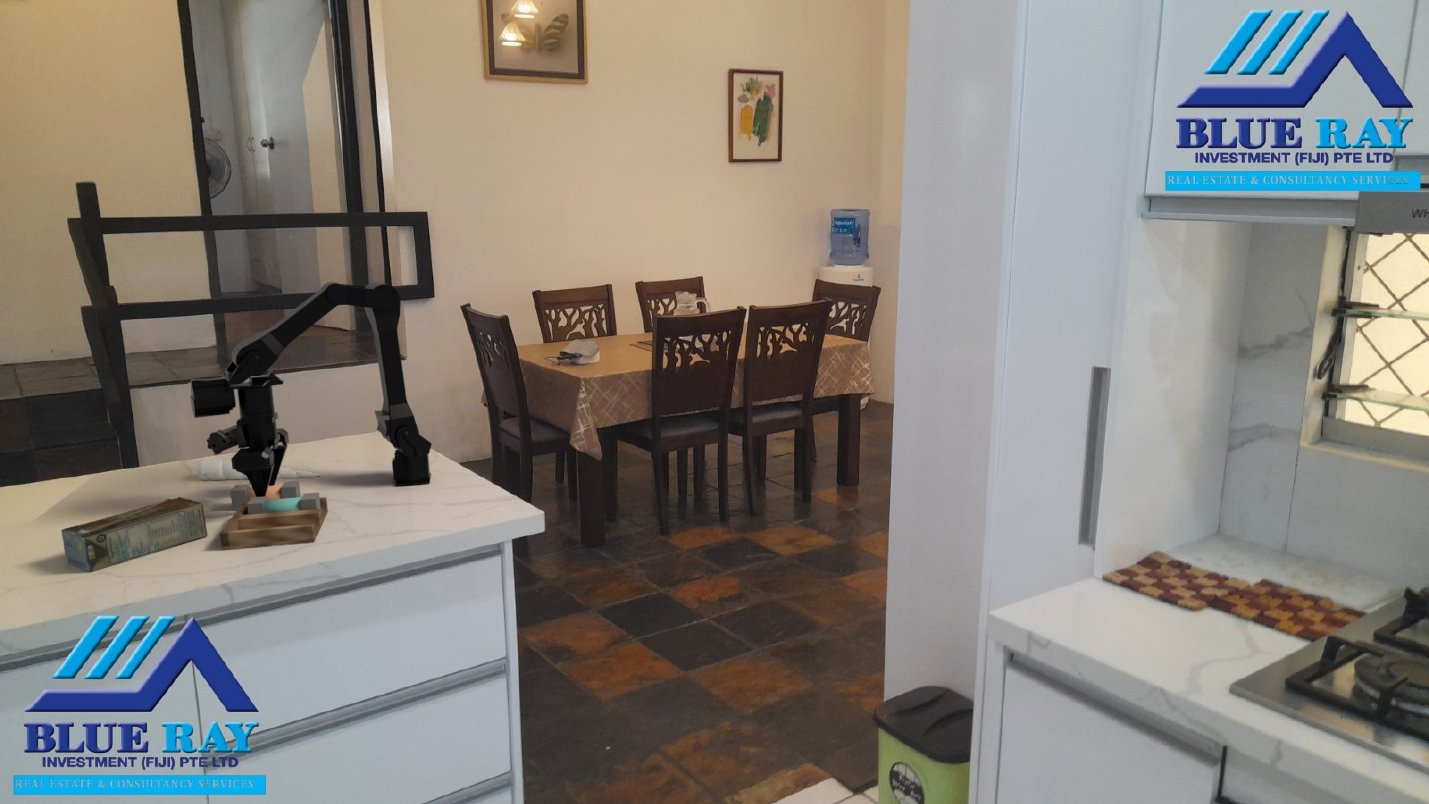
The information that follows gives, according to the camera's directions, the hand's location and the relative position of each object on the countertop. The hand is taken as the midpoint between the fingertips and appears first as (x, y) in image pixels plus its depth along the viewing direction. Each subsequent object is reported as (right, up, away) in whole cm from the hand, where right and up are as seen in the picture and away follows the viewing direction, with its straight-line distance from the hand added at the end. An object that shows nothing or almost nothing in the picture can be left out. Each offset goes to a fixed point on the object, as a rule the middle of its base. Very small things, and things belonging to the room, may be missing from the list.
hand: (266, 492), depth 177 cm
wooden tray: (+8, -5, -13) cm, 16 cm away
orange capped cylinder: (0, -2, 0) cm, 3 cm away
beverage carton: (-11, -8, -21) cm, 25 cm away
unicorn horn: (-10, +1, +19) cm, 21 cm away
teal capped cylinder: (+8, -4, -9) cm, 12 cm away
